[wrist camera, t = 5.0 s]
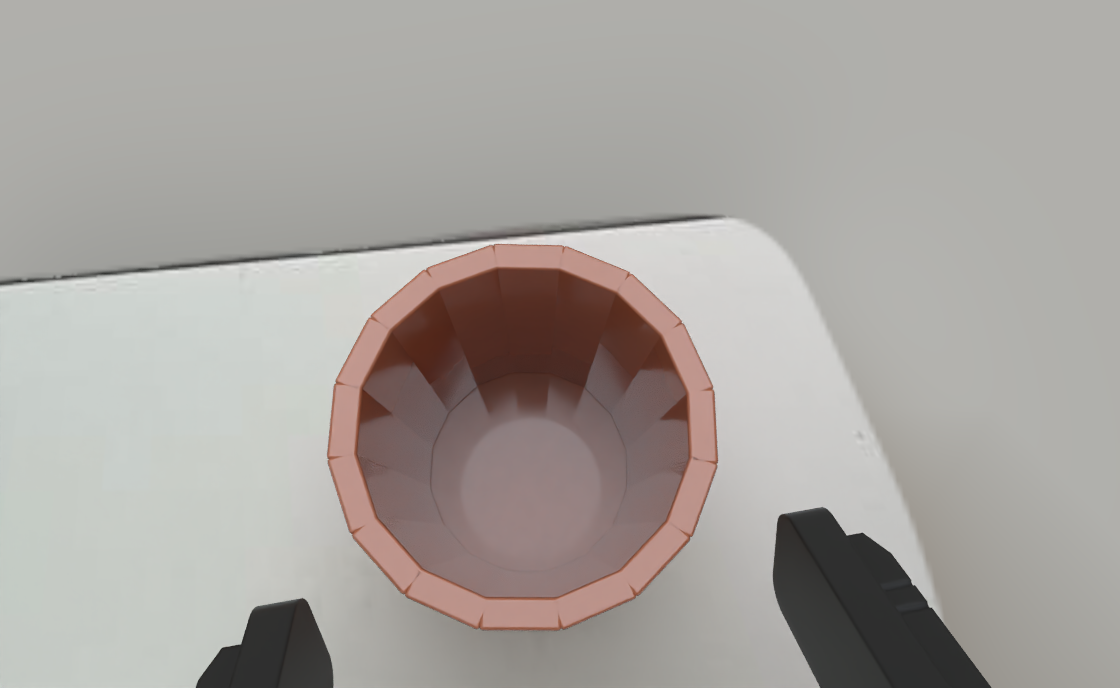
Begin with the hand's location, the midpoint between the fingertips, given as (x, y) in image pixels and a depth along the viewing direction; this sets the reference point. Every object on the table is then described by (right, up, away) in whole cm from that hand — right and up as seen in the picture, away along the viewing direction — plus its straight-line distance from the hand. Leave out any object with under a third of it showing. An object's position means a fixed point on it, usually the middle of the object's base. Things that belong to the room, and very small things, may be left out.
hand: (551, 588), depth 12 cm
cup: (-1, 0, +9) cm, 9 cm away
